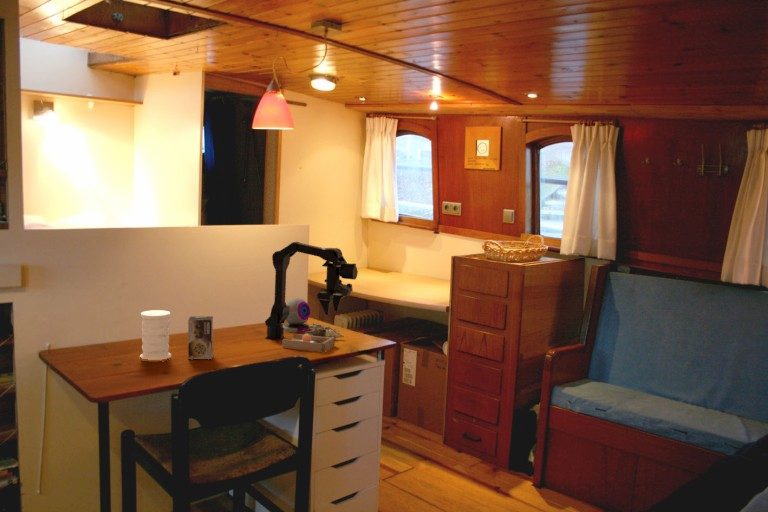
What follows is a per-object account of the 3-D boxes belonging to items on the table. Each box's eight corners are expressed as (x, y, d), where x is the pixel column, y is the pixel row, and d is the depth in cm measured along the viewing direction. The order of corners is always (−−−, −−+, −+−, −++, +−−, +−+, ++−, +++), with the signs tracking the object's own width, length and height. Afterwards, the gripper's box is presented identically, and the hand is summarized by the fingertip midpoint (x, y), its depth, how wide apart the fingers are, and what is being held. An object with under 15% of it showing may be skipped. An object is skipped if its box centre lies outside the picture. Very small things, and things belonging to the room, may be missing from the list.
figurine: (326, 320, 313) (353, 327, 303) (325, 333, 313) (352, 340, 303) (297, 324, 297) (324, 331, 287) (296, 337, 297) (323, 344, 287)
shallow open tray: (282, 347, 280) (282, 338, 279) (294, 341, 291) (294, 332, 291) (323, 352, 274) (323, 343, 274) (334, 346, 285) (334, 337, 285)
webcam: (297, 333, 305) (298, 302, 304) (276, 329, 312) (277, 298, 311) (314, 329, 316) (315, 298, 315) (294, 325, 323) (295, 295, 321)
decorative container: (168, 362, 251) (168, 316, 249) (136, 362, 249) (136, 315, 247) (173, 354, 263) (173, 310, 261) (142, 354, 261) (142, 309, 259)
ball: (300, 343, 281) (300, 334, 281) (304, 341, 285) (304, 332, 285) (309, 344, 280) (309, 335, 280) (312, 342, 284) (313, 333, 284)
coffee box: (213, 355, 263) (213, 316, 261) (211, 360, 257) (212, 319, 255) (189, 355, 261) (189, 315, 260) (187, 360, 255) (187, 319, 253)
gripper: (340, 282, 272) (339, 319, 274) (358, 276, 290) (357, 311, 291) (316, 279, 276) (315, 315, 278) (335, 274, 294) (334, 308, 295)
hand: (331, 312), depth 286 cm, fingers open, 9 cm apart
